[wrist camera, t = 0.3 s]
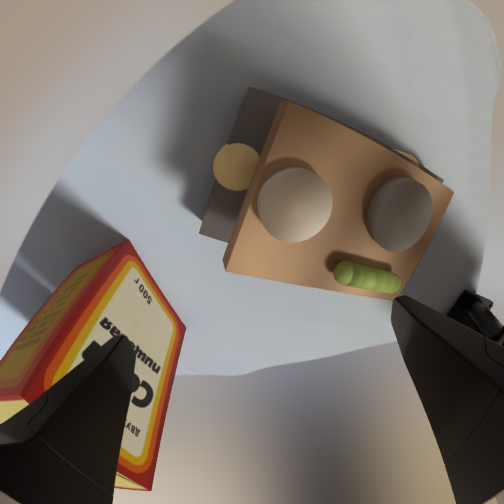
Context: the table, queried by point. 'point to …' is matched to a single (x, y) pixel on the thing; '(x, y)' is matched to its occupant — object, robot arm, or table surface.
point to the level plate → (333, 210)
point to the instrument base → (251, 162)
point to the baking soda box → (94, 336)
